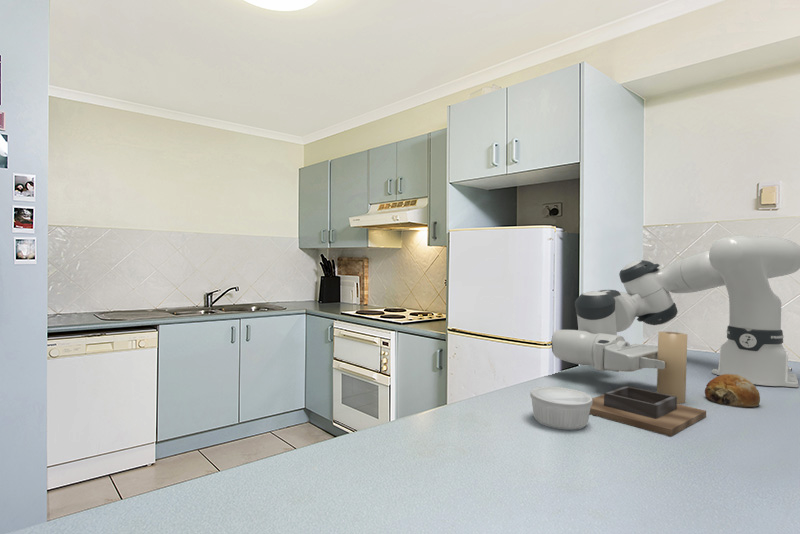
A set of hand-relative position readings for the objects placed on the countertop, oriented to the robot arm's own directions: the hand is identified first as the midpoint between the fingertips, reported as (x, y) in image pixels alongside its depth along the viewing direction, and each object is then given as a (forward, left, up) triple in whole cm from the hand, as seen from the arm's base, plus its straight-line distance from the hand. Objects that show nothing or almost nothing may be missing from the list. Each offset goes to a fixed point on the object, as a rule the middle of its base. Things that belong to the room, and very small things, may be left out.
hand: (673, 362), depth 103 cm
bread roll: (-10, +8, -9) cm, 16 cm away
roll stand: (+16, 0, -8) cm, 18 cm away
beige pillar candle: (0, 0, -8) cm, 9 cm away
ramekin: (+34, -7, -9) cm, 36 cm away
